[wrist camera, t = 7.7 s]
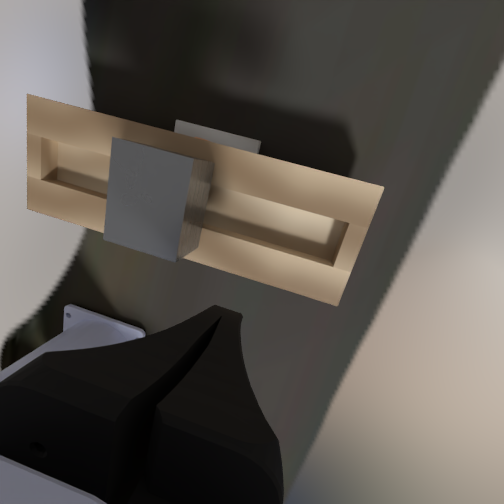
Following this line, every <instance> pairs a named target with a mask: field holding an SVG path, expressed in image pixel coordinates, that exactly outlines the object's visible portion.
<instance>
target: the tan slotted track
mask: <svg viewBox="0 0 504 504" xmlns="http://www.w3.org/2000/svg"><path fill="white" fill-rule="evenodd" d="M112 137H116V138H120V139H125V140H129V141H134V142H138V143H142V144H147V145H151V146H155V147H158V148H162V149H166V150H169V151H173V152H177V153H180V154H184V155H188V156H192V157H195V158H199V159H203V160H206V161H210V162H214V163H215V166H214V171H213V176H212V181H211V186H210V191H209V196H208V201H207V206H206V211H205V216H204V221H203V226H202V231H201V236H200V241H199V246H198V248H197V249H195V250H194V251H192V252H191V253H189V254H188V255H186V256H185V257H183V258H185V259H188V260H192V261H195V262H198V263H201V264H204V265H208V266H211V267H214V268H217V269H220V270H224V271H227V272H230V273H233V274H236V275H240V276H243V277H246V278H249V279H252V280H255V281H259V282H262V283H265V284H268V285H271V286H275V287H278V288H281V289H284V290H287V291H291V292H294V293H297V294H300V295H303V296H306V297H310V298H313V299H316V300H319V301H322V302H326V303H329V304H332V305H335V306H338V303H339V301H340V298H341V296H342V293H343V291H344V288H345V286H346V283H347V281H348V278H349V276H350V273H351V271H352V268H353V266H354V263H355V261H356V258H357V256H358V253H359V250H360V248H361V245H362V243H363V240H364V238H365V235H366V233H367V230H368V228H369V225H370V223H371V220H372V218H373V215H374V213H375V210H376V208H377V205H378V203H379V200H380V197H381V195H382V192H383V190H384V187H382V186H378V185H374V184H370V183H366V182H363V181H359V180H355V179H351V178H347V177H343V176H340V175H336V174H332V173H328V172H324V171H320V170H317V169H313V168H309V167H305V166H301V165H298V164H294V163H290V162H286V161H282V160H278V159H275V158H271V157H267V156H263V155H259V154H258V153H259V149H260V145H261V141H259V140H255V139H251V138H247V137H243V136H239V135H235V134H231V133H227V132H223V131H219V130H216V129H212V128H208V127H204V126H200V125H196V124H192V123H188V122H184V121H180V120H176V123H175V130H174V132H171V131H168V130H164V129H160V128H156V127H152V126H149V125H145V124H141V123H137V122H133V121H129V120H126V119H122V118H118V117H114V116H110V115H106V114H103V113H99V112H95V111H91V110H87V109H83V108H80V107H76V106H72V105H68V104H64V103H61V102H57V101H53V100H49V99H45V98H42V97H38V96H34V95H30V94H27V209H29V210H32V211H35V212H39V213H42V214H45V215H48V216H52V217H55V218H58V219H61V220H64V221H67V222H71V223H74V224H77V225H80V226H83V227H86V228H90V229H93V230H96V231H99V232H102V233H104V225H105V213H106V201H107V190H108V178H109V167H110V155H111V143H112Z"/></svg>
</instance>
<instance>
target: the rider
mask: <svg viewBox="0 0 504 504" xmlns="http://www.w3.org/2000/svg"><path fill="white" fill-rule="evenodd" d="M214 166H215V163H214V162H210V161H206V160H203V159H199V158H195V157H192V156H188V155H184V154H180V153H177V152H173V151H169V150H166V149H162V148H158V147H155V146H151V145H147V144H142V143H138V142H134V141H129V140H125V139H120V138H116V137H112V143H111V155H110V167H109V178H108V190H107V201H106V213H105V225H104V236H103V240H106V241H109V242H112V243H116V244H119V245H122V246H125V247H128V248H131V249H135V250H138V251H141V252H144V253H147V254H150V255H154V256H157V257H160V258H163V259H166V260H169V261H172V262H177V261H178V260H180V259H182V258H183V257H185V256H186V255H188V254H189V253H191V252H192V251H194V250H195V249H197V248H198V246H199V241H200V236H201V231H202V226H203V221H204V216H205V211H206V206H207V201H208V196H209V191H210V186H211V181H212V176H213V171H214Z"/></svg>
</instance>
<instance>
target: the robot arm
mask: <svg viewBox="0 0 504 504" xmlns="http://www.w3.org/2000/svg"><path fill="white" fill-rule="evenodd" d="M242 318H243V316H242V314H241V313H238V312H235V311H232V310H229V309H226V308H223V307H220V306H217V305H214V306H212V307H210V308H208V309H206V310H204V311H203V312H201V313H199V314H197V315H195V316H193V317H191V318H190V319H188V320H186V321H184V322H182V323H180V324H177V325H175V326H173V327H171V328H168V329H166V330H163V331H160V332H158V333H155V334H152V335H149V336H145V331H144V330H143V329H141V328H138V327H135V326H132V325H129V324H127V323H124V322H121V321H118V320H115V319H112V318H109V317H107V316H104V315H101V314H98V313H95V312H92V311H89V310H87V309H84V308H81V307H78V306H75V305H72V304H69V305H67V306H65V308H64V324H63V332H62V333H61V334H59V335H57V336H56V337H54V338H53V339H51V340H50V341H48V342H46V343H45V344H43V345H42V346H40V347H38V348H37V349H35V350H34V351H32V352H31V353H29V354H27V355H26V356H24V357H23V358H21V359H20V360H18V361H16V362H15V363H13V364H12V365H10V366H9V367H7V368H5V369H4V370H2V371H1V372H0V504H283V495H284V487H283V469H282V460H281V453H280V446H279V440H278V439H277V437H276V435H275V434H274V432H273V430H272V429H271V427H270V426H269V424H268V422H267V421H266V419H265V417H264V415H263V413H262V411H261V409H260V407H259V405H258V402H257V400H256V397H255V395H254V392H253V390H252V388H251V385H250V382H249V379H248V376H247V372H246V368H245V364H244V360H243V354H242V347H241V336H240V328H241V322H242ZM137 337H138V338H137Z"/></svg>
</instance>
